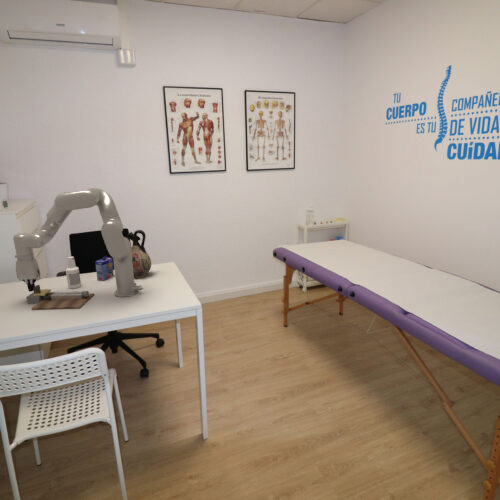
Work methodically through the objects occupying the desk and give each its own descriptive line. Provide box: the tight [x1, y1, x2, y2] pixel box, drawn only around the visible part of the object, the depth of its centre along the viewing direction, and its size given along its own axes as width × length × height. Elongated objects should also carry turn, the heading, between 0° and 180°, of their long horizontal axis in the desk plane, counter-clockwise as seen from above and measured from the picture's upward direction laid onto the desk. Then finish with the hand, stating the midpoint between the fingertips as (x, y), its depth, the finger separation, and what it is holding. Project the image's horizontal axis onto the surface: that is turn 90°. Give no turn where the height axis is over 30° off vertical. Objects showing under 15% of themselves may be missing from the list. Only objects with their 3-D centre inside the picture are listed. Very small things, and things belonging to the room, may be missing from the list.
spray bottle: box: [65, 256, 82, 290], centre depth 207 cm, size 7×7×18 cm
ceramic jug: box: [124, 229, 152, 279], centre depth 223 cm, size 17×15×30 cm
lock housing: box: [26, 291, 44, 305], centre depth 190 cm, size 6×8×4 cm
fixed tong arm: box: [48, 291, 83, 294], centre depth 191 cm, size 19×2×2 cm, turn 91°
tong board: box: [31, 292, 95, 311], centre depth 187 cm, size 24×18×1 cm
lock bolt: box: [32, 284, 52, 296], centre depth 189 cm, size 6×6×4 cm
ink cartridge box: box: [94, 255, 115, 282], centre depth 221 cm, size 10×6×14 cm, turn 163°
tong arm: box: [43, 290, 90, 300], centre depth 189 cm, size 23×4×3 cm, turn 90°
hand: (32, 290), depth 189 cm, fingers closed
